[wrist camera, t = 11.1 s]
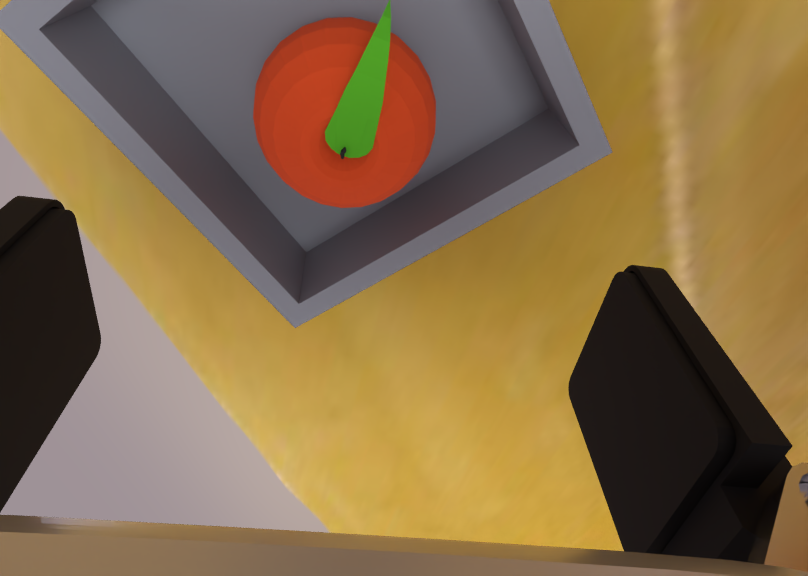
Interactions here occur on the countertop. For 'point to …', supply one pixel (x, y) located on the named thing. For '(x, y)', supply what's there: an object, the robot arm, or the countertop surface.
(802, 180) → the countertop surface
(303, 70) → the clementine
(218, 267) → the countertop surface
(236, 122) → the bin
